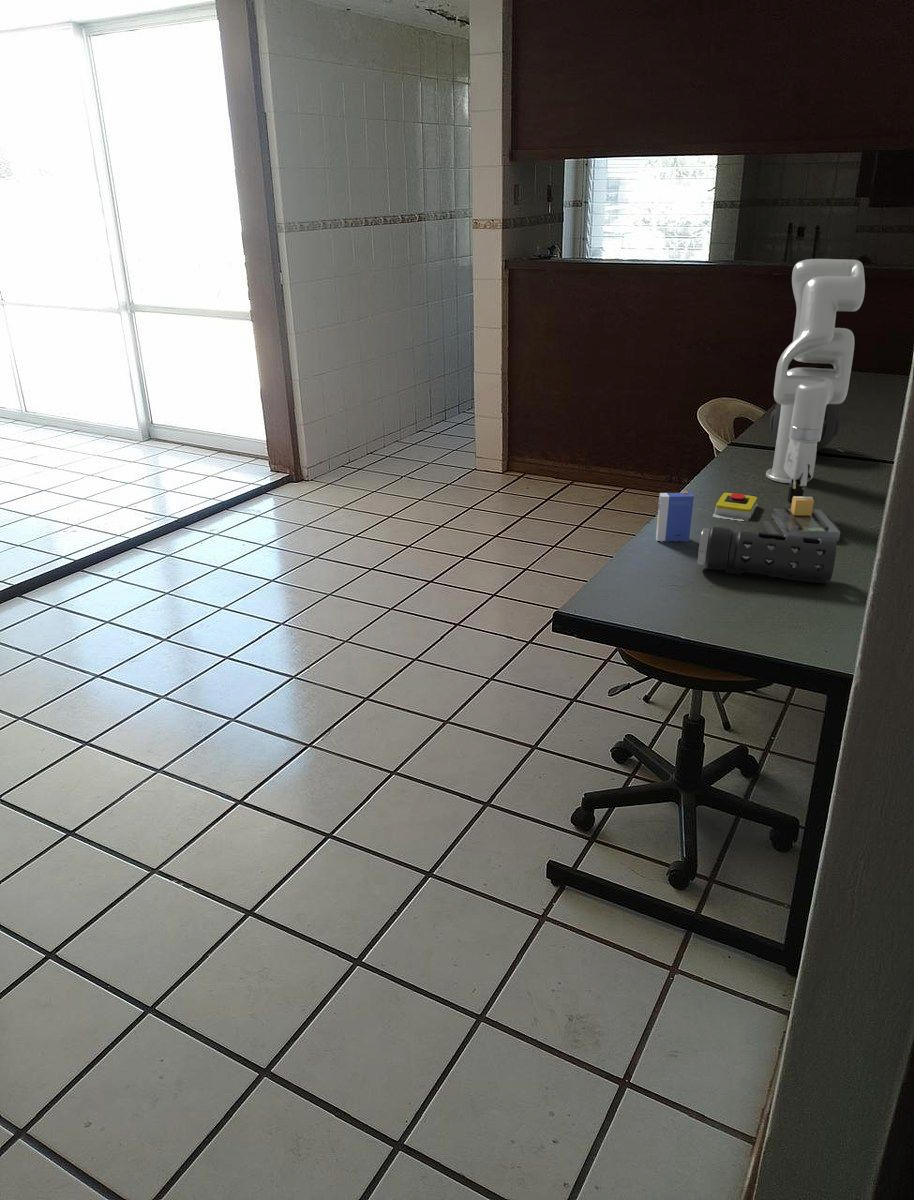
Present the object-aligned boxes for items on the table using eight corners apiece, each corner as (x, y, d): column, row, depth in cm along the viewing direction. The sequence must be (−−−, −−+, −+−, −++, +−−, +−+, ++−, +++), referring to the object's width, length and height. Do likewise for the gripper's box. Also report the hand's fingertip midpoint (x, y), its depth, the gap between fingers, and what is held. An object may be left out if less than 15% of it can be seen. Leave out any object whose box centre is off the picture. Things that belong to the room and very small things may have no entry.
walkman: (686, 537, 222) (691, 491, 217) (688, 541, 220) (693, 495, 214) (654, 537, 222) (658, 491, 217) (656, 542, 220) (660, 495, 215)
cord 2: (822, 521, 231) (822, 516, 231) (827, 521, 231) (828, 516, 231) (832, 532, 224) (832, 527, 223) (837, 532, 224) (838, 527, 223)
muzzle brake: (829, 593, 193) (837, 548, 188) (695, 577, 201) (700, 533, 197) (828, 576, 201) (835, 532, 197) (699, 561, 209) (704, 519, 205)
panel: (771, 517, 234) (773, 506, 232) (818, 518, 233) (820, 507, 232) (788, 541, 219) (790, 529, 218) (838, 541, 219) (840, 529, 217)
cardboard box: (790, 511, 230) (793, 495, 228) (808, 511, 230) (810, 495, 228) (793, 515, 227) (796, 499, 225) (811, 515, 227) (814, 499, 225)
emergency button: (760, 490, 241) (750, 508, 229) (757, 506, 243) (748, 524, 231) (724, 486, 245) (713, 503, 233) (722, 501, 247) (711, 519, 235)
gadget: (763, 456, 283) (772, 392, 274) (769, 440, 299) (777, 379, 290) (833, 463, 275) (845, 398, 267) (835, 446, 292) (846, 384, 283)
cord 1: (762, 526, 228) (763, 520, 228) (768, 526, 228) (769, 521, 228) (777, 547, 216) (778, 541, 215) (783, 547, 216) (784, 541, 215)
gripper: (782, 425, 233) (772, 492, 241) (798, 441, 219) (787, 512, 227) (811, 425, 232) (800, 493, 240) (830, 441, 219) (817, 512, 227)
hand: (794, 502), depth 234 cm, fingers closed
